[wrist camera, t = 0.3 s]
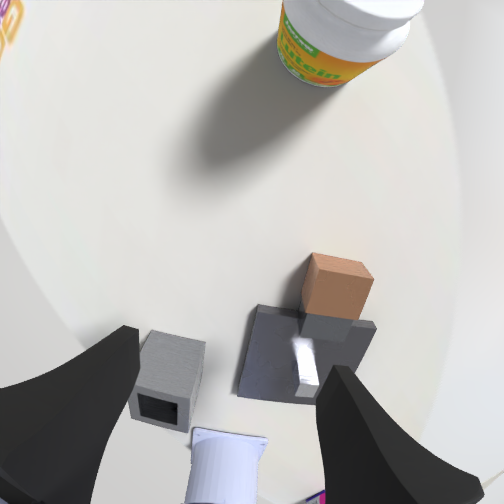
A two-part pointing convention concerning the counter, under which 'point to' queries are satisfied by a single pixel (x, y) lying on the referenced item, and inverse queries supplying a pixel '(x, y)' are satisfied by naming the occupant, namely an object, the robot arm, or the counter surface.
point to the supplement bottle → (341, 36)
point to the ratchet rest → (309, 334)
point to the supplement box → (317, 498)
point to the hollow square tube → (167, 381)
